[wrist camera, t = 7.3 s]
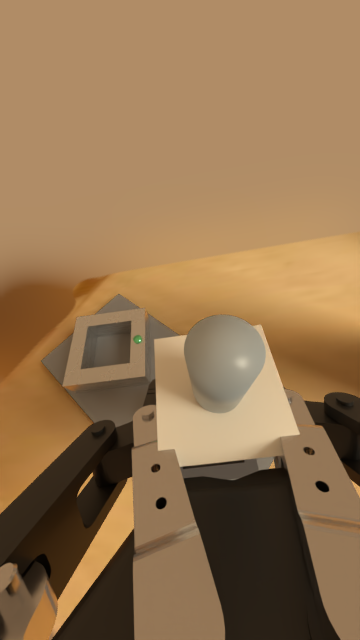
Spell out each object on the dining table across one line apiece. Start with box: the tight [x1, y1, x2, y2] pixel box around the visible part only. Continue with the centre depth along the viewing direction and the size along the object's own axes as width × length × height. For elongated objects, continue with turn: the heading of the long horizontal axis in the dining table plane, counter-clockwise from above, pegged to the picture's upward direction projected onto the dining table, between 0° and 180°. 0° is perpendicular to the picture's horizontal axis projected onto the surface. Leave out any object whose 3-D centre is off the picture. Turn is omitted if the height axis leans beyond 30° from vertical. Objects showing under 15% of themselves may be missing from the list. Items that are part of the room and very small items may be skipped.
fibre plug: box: [154, 315, 300, 467], centre depth 10 cm, size 4×4×13 cm
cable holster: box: [180, 458, 259, 480], centre depth 20 cm, size 7×7×3 cm
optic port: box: [62, 308, 151, 393], centre depth 26 cm, size 9×9×3 cm
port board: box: [41, 294, 274, 480], centre depth 25 cm, size 14×28×2 cm, turn 51°
